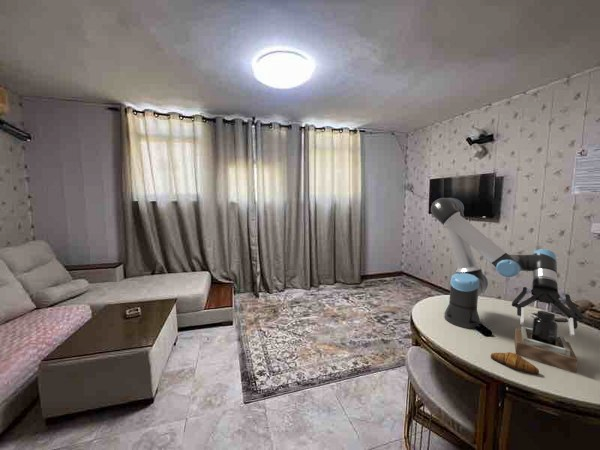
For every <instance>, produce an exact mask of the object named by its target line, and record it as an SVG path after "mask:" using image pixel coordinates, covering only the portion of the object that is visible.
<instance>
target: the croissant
mask: <svg viewBox="0 0 600 450" xmlns="http://www.w3.org/2000/svg"><path fill="white" fill-rule="evenodd" d="M490 359H493V361H495V362H497V363H499V364H502V365H505V366H506V367H509V368H511V369H514V370H517V371H521V372H525V373H529V374H531V375H539V373H540V370H539V368H537V367H536V366H535V365H534V364H533V363H531V362H530V361H528V360H526V359H524V358H523V356H520V355H517V354H516V352H508V351H507V352H494V353H493V352H491V354H490Z"/></svg>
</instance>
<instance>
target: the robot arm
mask: <svg viewBox="0 0 600 450" xmlns="http://www.w3.org/2000/svg"><path fill="white" fill-rule="evenodd" d="M464 211H465V206H464V204H463V202H462V201H461V200H459V199H457V198H454V197H440V198H437V199H436V200H434V201H433V202H432V203H431V207H430V212H431V215H432V216H433V217H434V218H435V219H436V220H438V222H440V224H441V225H442V226H444V227H445V230H446V233H447V236H448V240H449V244H450V247H451V250H452V252H453V253H452V254H453V257H454V260H455V263H456V266H457V269H456V270H455V274H452V276H451V279H450V282H449V285H450V287H449V288H450V289H449V299H448V300H449V303H448V305H447V307H446V309H445V311H444V313H443V314H444V316H443V317H444V318H443V319H445V320H446V321H447V322H448V323H450V324H452V325H454V326H457V327H461V328H466V329H476V328H475V327H476V326H477V325H479V324H480V325H481V319H480V314H479V312H478V299H479V296H480V295H481V294H483V293H484V292H485V291H487V288H488V286H489V281H488V278H487V277H486V275H485V274H483V270H482V268H481V267H479V266H478V265H477V263H476V259H475V257H474V254H473V251H472V248H473V249H474V250H475V251H476V252H477V253H479V254H480V255H481V256H482V257H484V258H485V259H486V260H487V261H488V262H489V263H490V264H492V265H493V267H495V268H496V271H497V273H498V274H499V275H501V276H503V277H504V278H505V277H506V278H512V277H516V276H518V275H519V274H520V273H521V272H532V289H530V288H527V287H526V286H523V287H522V291H521V292H520V293H519V294H518V295H517V297H515V299H514V300H513V301H512V302H511V307H514V308H516V315H517V316H519V317H520V323H519V324H520V325H521V326H524V319H525V316H524V315H525V307H527V306H529V305H531V304H532V303H534V302H536V301H538V302H539V303H546V304H550V305H551V304H552V305H553V306H555V307H557V309H558V310H560V311H561V312H562V313H563V314H564V315H565V316H567V318H569V319H568V320H567V321H568V333H569V338H573V337H574V336H575V330H577V328H578V322H583V321H584V320H585V317H584V314H582V312H581V311H580V310H579V309H578V307H577V306H576V304H575V303H574V301H572V300H571V296H570V294H560V292H559V289H558V268H557V267H558V266H557V265H558V264H557V263H558V262H557V256H556V254H555V252H554V251H551V250H550V249H545V248H540V249H536V250H534V251H533V252H532V254H508V253H507V252H506V251H505V250H504V249H502V248H501V247H500V246H499V245H498V244H496V243H495V242H494V241H493V240H491V238H489V237H487V236H486V235H485V233H483V232H481V231H480V230H479V229H478V228H476V226H474V225H473V224H472V223H470V222H469V221H468V220H466V218H465V215H464ZM529 293H530V294H531V295H532V296H530V297H528V298H526V299H525V300H523V301H522V299H523V298H524V297H525V296H526V295H528V294H529ZM560 299H561V300H562V301H563V302H564V303H565V305H566V306H567V307H566V306H565V305H564V304H563V303H562V302H561V300H560ZM520 301H522V302H520Z"/></svg>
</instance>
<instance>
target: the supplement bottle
mask: <svg viewBox="0 0 600 450" xmlns="http://www.w3.org/2000/svg"><path fill="white" fill-rule="evenodd" d="M536 313H537V314H536V316H535V317H534V318H533V320H532V328H531V329H532V339H533V340H535V341H539V342H543V343H546V344H550V345H554V346H555V345H556V338H557V335H558V328H559V327H558V323H557V322H556V321H555V320H556V318H555V316H556V315H555V314H554V313H552V312H550V311H546V310H545V311H544V310H537V312H536Z"/></svg>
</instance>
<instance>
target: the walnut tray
mask: <svg viewBox="0 0 600 450" xmlns="http://www.w3.org/2000/svg"><path fill="white" fill-rule="evenodd" d="M514 329H515V331H514V338H513V339H514V349H515V352H514V353H515V354H517V355H519V356H521V357H522V358H523V357H524V358H527V359H530V360H533V361H536V362H539V363H543V364H547V365H549V366H552V367H556V368H557V369H558V368H560V369H562V370H566V371H568V372H572V373H575V374H576V373H577V367H578V360H579V359H578V357H577V356H576V353H575V352H574V350H573V347H572V346H571V343H570V342H569V341H566V339H565V337H564V336H562V335H558V334H557V338H556V345H555V346H554V345H550V344H546V343H543V342H539V341H535V340H533V339H532V328H531V327H527V326H524V325H521V328H514Z"/></svg>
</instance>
